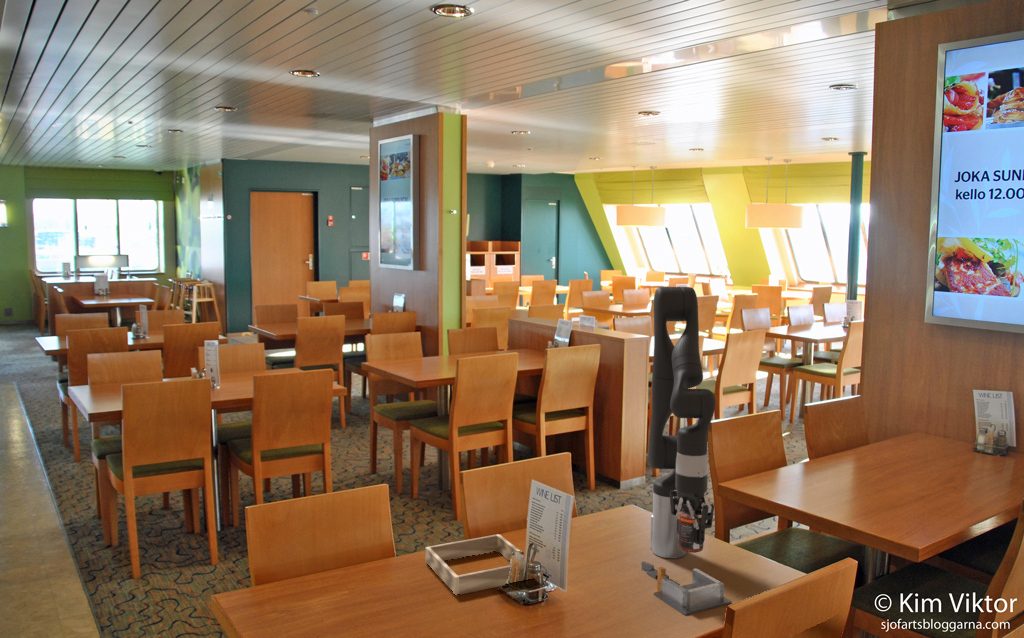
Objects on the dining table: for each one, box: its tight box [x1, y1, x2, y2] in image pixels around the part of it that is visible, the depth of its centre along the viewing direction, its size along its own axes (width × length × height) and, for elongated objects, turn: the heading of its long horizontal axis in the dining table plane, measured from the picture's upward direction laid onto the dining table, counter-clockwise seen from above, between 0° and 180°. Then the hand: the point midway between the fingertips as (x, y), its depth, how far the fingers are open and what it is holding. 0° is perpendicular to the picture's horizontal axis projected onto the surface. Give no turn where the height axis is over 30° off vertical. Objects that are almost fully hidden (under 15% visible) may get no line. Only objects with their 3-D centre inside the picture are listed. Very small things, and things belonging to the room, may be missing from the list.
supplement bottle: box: [678, 503, 704, 554], centre depth 183 cm, size 6×6×11 cm
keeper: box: [653, 566, 733, 616], centre depth 184 cm, size 12×14×6 cm
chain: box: [641, 560, 681, 586], centre depth 196 cm, size 14×2×2 cm, turn 26°
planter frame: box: [424, 533, 521, 596], centre depth 200 cm, size 22×22×4 cm
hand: (690, 538), depth 184 cm, fingers closed on supplement bottle, 6 cm apart
